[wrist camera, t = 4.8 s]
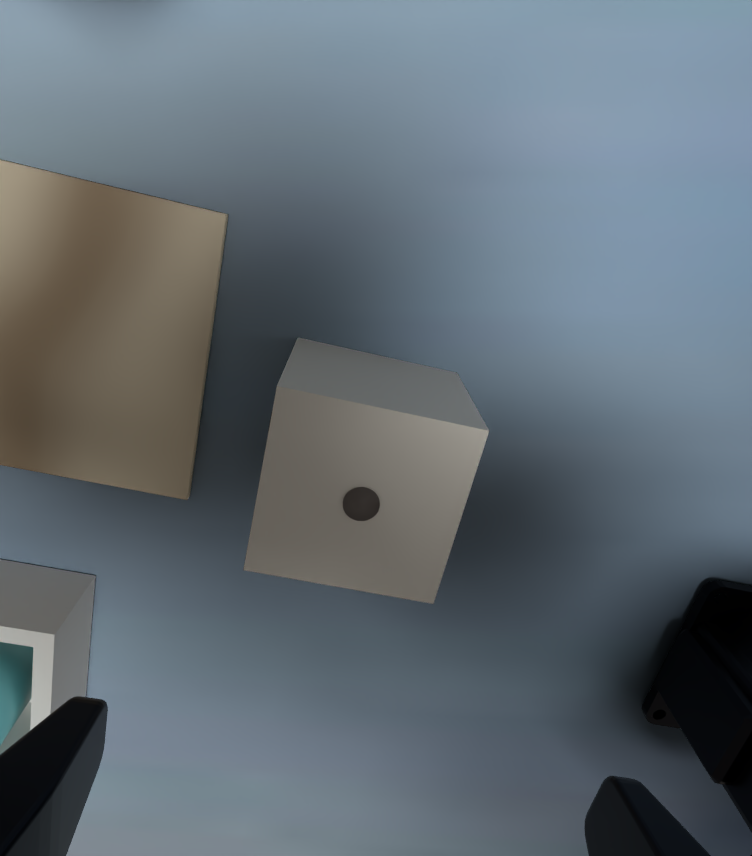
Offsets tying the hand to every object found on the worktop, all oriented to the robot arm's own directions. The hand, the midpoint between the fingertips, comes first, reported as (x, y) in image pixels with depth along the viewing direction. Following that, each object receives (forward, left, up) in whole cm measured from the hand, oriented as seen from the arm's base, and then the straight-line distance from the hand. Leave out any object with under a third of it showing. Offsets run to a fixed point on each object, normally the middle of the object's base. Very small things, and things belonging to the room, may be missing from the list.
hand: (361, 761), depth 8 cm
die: (0, 0, -12) cm, 12 cm away
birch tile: (+9, -1, -12) cm, 15 cm away
